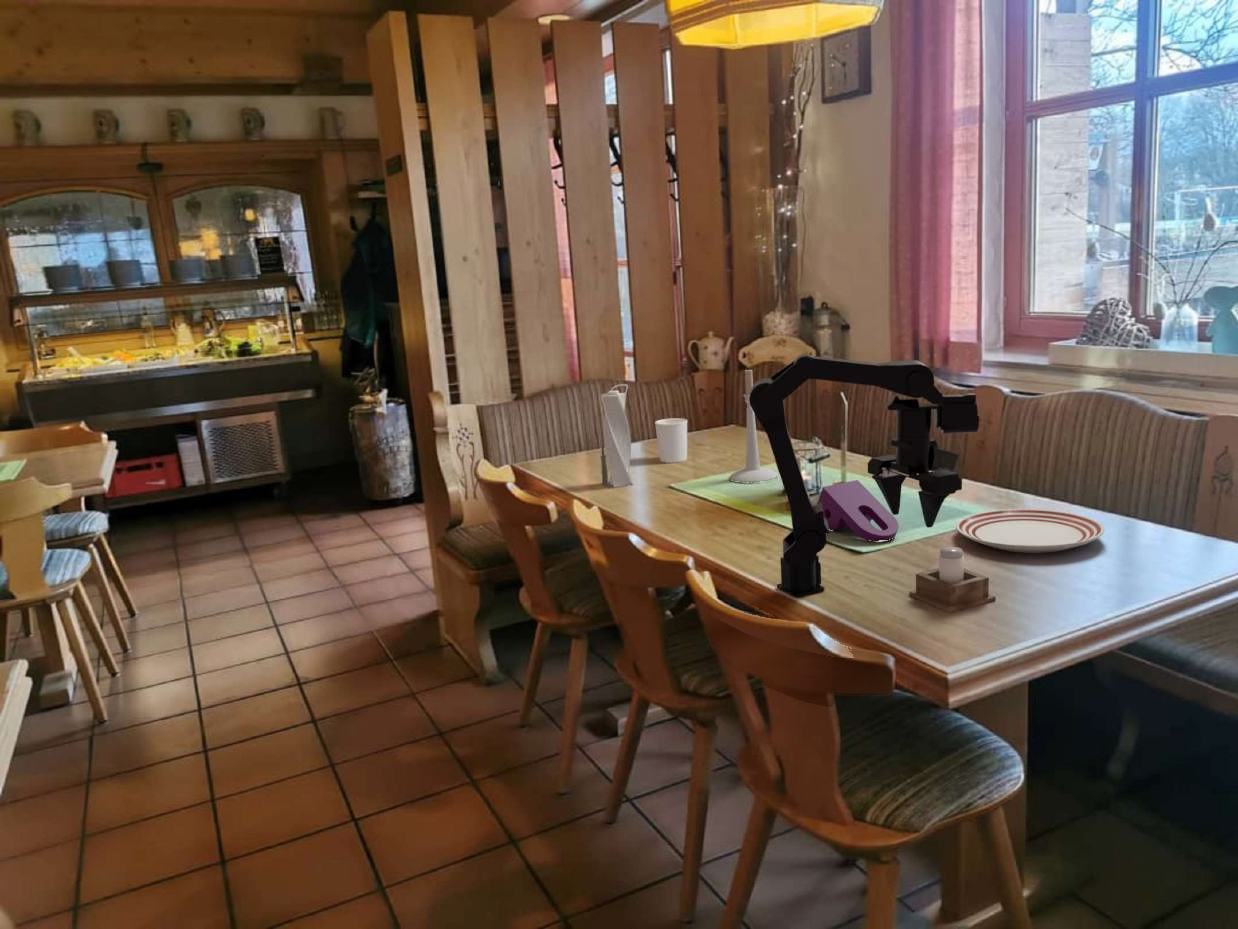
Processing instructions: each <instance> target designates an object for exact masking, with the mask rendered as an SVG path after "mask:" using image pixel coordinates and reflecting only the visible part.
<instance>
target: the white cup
mask: <svg viewBox="0 0 1238 929" xmlns="http://www.w3.org/2000/svg"><path fill="white" fill-rule="evenodd" d="M654 424H655V426H654V427H655V432H656V433H655V434H656V442H657V449H658V456H659V460H660V462H661V463H664V462H665V464H666V463H667V464H675V463H676V464H677V462H678V463H682V462H685V461H687V460H688V419H686V418H682V417H680V418H679V417H677V418H676V417H675V418H664V419H663V418H662V419H658V420H656V421H655V422H654Z"/></svg>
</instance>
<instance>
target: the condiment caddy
mask: <svg viewBox="0 0 1238 929" xmlns="http://www.w3.org/2000/svg"><path fill="white" fill-rule="evenodd" d="M989 579H990V578H989V576H988V577H987V575H986V576H985V575H983V574H980V573H978V572H976V571H972V570H970V569H967V568H965V567H964V581H961V582H957V583H953V584H949V583H946V582H944V581H942V580H939V567H937V568H933V569H929V570H924V571H920V572H917V573H915V589H913V590H910V591H909V592H908V593H909V594H908V595H909V596H911V597H914V598H916V599H918V600H921V601H923V602H924V603H927V604H929V605H931V606H934V607H936V608H938V609H939V610H940V609H941V610H942V611H945V612H947V613H953V612H957V611H961V610H964V609H967V608H968V609H969V608H972V607H976V606H980V605H982V604H986V603H987V604H988V603H990V602H993V601H994V602H995V601H997V600H996V595H992V594H990V593H989V592H990V591H989V587H990V586H989V584H990V583H989V581H990V580H989Z"/></svg>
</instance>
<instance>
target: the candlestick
mask: <svg viewBox="0 0 1238 929" xmlns="http://www.w3.org/2000/svg"><path fill="white" fill-rule="evenodd" d="M753 377H754V376H753V370H752V369H749V368H747V369H746V370H744V383H745V394H743V395H742V396H743V397H744V401H745V403H746V454H745V455H746V457H745V458H746V459H745V460H746V461H745V462H746V464H745V465H746V466H745V467H744V468H740V469H738V470H736V471H734V472H732V473H731V474H730V475H729V480H730V479H731V480H733V481H739V482H745V483H746V482H749V483H751V482H752V483H754V482H760V481H768V480H772V479H775V478H776V477H777V478H778V473H777V472H775V471H774V470H772V469H770V468H767V467H762V466H761V464H760V457H759V448H758V437H757V436H758V435H757V425H756V415H755V413H754V411H753V409H752V407H751V405H750V400H749V399H750V391H751V388H752V386H753V384H754V379H753ZM777 478H776V479H777ZM776 479H775V480H776ZM731 480H730V481H731ZM733 481H732V482H733Z"/></svg>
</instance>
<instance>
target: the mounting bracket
mask: <svg viewBox="0 0 1238 929" xmlns="http://www.w3.org/2000/svg"><path fill="white" fill-rule="evenodd" d="M819 503H821V504H822V509H823V516H824V518H825V519H826V520H827V522H828V527H829V529H830V530H833V531H832V532H836V531H840V530H843V529H845V527H846V526H847V525H848V526H849V527H850V528H851V530H852V531H854V532H855V533H856V535H857V536H859V537H860V538H862V539H863V540H866V541H868V540H871V541H879V540H889V539H892V538H894V537H896V535H897V533H898V531H899V522H898V520H897V518H896V517H895V515H893V514H892V512H891V511H889V510H888V509H887V508H886V507H885V505H883V504H882V503H881V502H880V501H879V500H878V499H877V498H876V496H874V495H873V494H872V493H871V491H869V490H868V488H866V487H865V486H864V485H863V484H862V483H861V482H860V481H859V480H858V479H857V480H850V481H846V482H840V483H836V484H831V485H825V486H822V488H821V490H820V495H819V498H818V501H817V504H819ZM871 521H873V522H874V523H875V524H876V525H877V526H878V527H879V528H880V529H878V528H877V527H875V526H874V524H872V523H871ZM835 530H836V531H835ZM894 539H895V538H894ZM871 541H870V542H871Z"/></svg>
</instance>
